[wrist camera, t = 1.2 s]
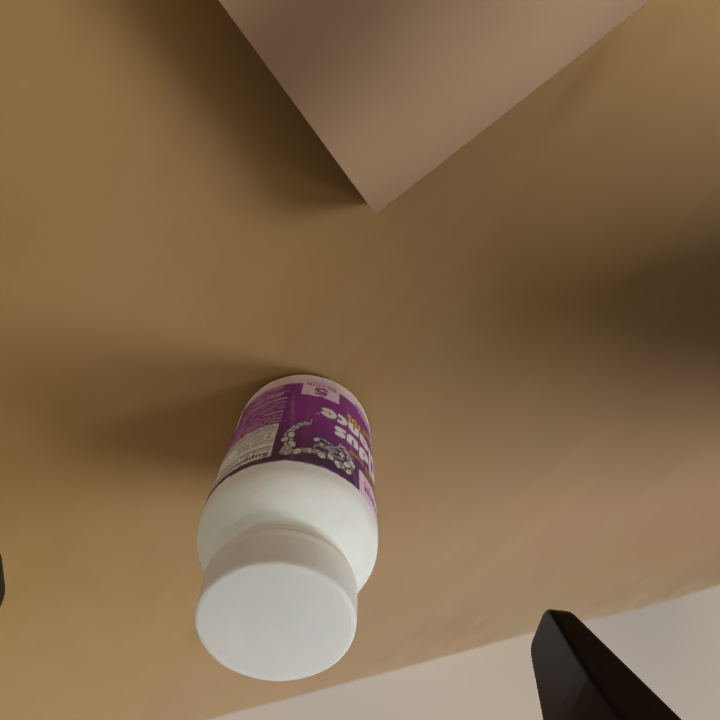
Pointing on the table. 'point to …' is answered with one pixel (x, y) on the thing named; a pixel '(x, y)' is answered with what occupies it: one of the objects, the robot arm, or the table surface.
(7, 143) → the table surface
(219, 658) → the pill bottle
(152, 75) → the table surface
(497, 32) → the tan flat square block
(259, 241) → the table surface
